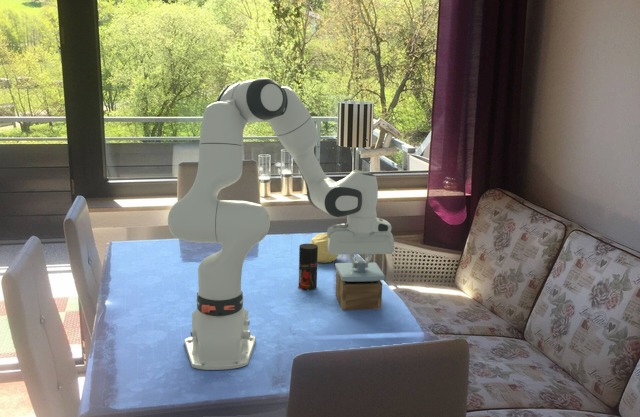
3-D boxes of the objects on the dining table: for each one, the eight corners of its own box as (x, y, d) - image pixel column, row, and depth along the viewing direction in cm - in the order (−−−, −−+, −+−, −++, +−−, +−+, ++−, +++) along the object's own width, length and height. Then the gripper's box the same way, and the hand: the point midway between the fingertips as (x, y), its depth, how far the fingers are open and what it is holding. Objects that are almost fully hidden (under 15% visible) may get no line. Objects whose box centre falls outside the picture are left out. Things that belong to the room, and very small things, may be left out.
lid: (384, 283, 191) (385, 266, 190) (342, 284, 189) (342, 267, 188) (375, 269, 204) (376, 253, 202) (335, 269, 202) (335, 254, 201)
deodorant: (320, 289, 211) (321, 246, 207) (307, 294, 206) (308, 250, 203) (307, 285, 215) (308, 242, 211) (294, 289, 210) (295, 245, 207)
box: (380, 311, 194) (382, 283, 192) (342, 313, 192) (343, 284, 190) (372, 297, 206) (373, 270, 204) (335, 298, 204) (336, 271, 202)
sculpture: (313, 266, 234) (313, 237, 231) (305, 256, 245) (306, 229, 242) (343, 264, 236) (344, 236, 234) (334, 254, 248) (335, 227, 245)
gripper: (329, 226, 188) (327, 271, 191) (396, 226, 191) (394, 270, 194) (325, 221, 194) (324, 264, 197) (391, 220, 197) (389, 263, 200)
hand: (359, 267), depth 196 cm, fingers closed on lid
